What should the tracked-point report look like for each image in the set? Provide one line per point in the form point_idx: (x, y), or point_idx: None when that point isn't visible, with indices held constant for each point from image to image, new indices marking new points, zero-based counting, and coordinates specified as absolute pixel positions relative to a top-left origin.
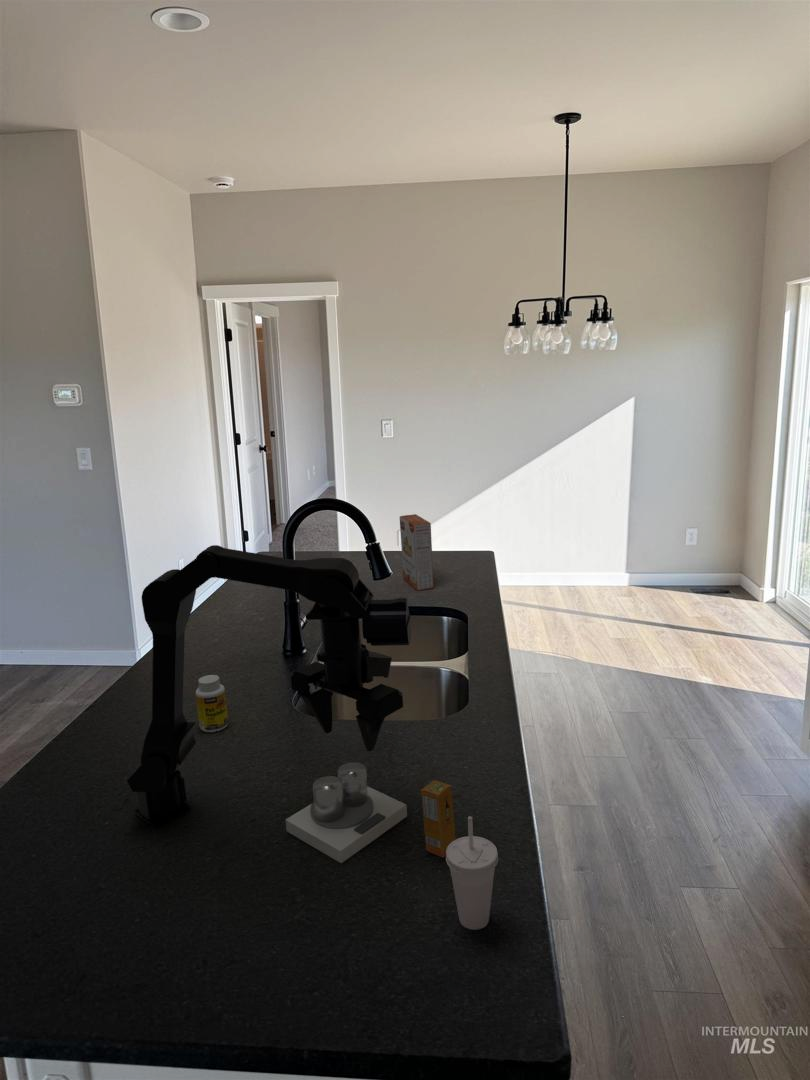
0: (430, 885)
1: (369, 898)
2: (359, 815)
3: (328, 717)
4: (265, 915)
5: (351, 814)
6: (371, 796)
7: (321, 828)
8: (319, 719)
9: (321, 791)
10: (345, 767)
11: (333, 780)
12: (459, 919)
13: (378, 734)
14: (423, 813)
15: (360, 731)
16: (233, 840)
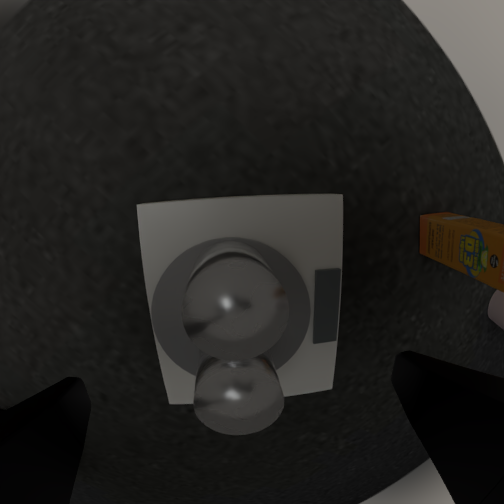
0: (452, 304)
1: None
2: (296, 314)
3: (49, 445)
4: (308, 466)
5: None
6: (245, 226)
7: None
8: (70, 493)
9: (256, 429)
10: (203, 320)
11: (238, 387)
12: (490, 318)
13: (478, 372)
14: (470, 276)
15: (449, 492)
16: (136, 437)
